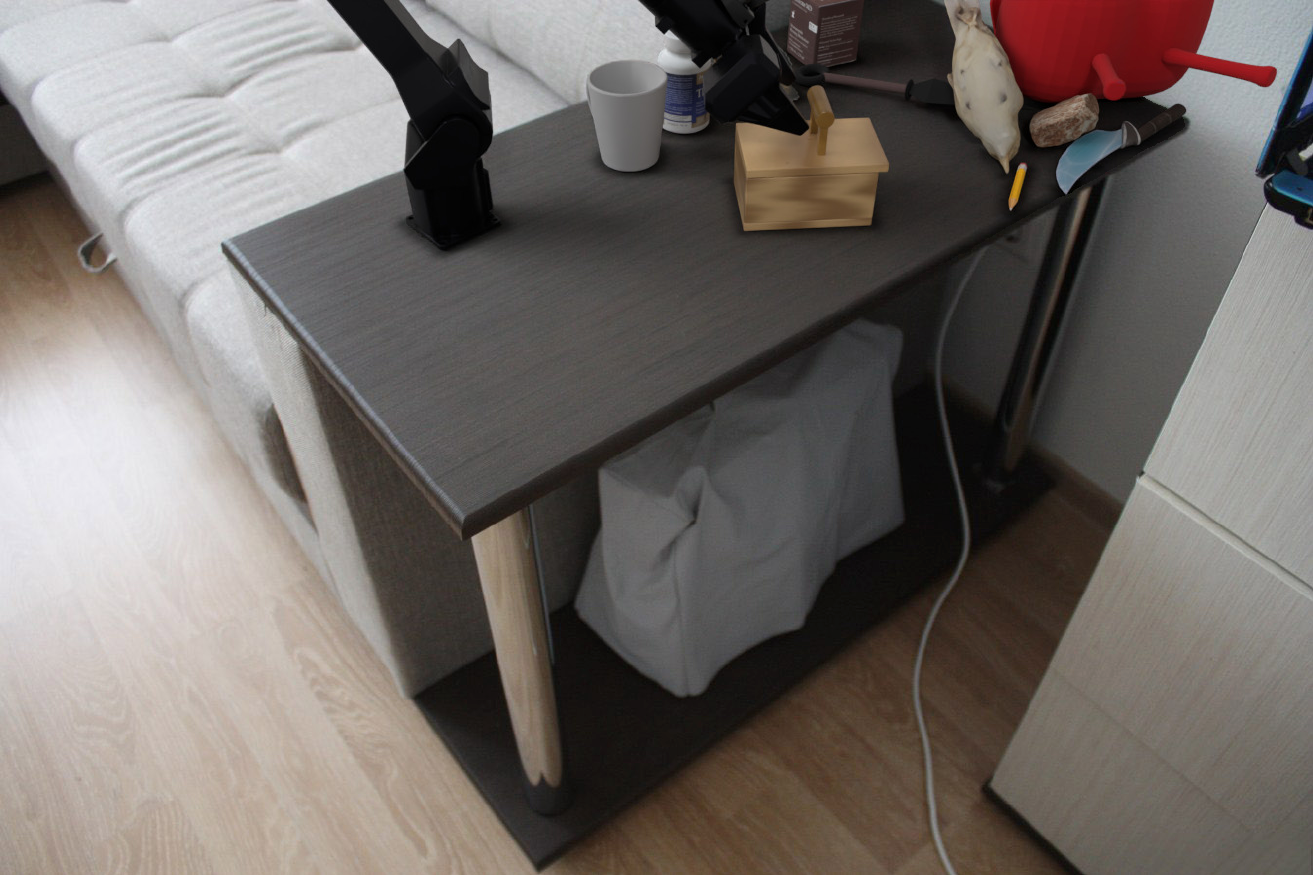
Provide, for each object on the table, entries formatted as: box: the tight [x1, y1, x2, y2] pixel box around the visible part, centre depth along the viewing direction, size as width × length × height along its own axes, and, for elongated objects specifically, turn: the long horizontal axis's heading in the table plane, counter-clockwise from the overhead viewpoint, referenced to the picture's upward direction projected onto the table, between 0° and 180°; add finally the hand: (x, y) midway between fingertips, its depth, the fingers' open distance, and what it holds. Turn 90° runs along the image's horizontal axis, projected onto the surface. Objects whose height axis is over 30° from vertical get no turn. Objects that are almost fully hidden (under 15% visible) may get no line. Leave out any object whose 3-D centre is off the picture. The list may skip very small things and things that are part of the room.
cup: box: [585, 59, 667, 173], centre depth 100 cm, size 8×10×8 cm
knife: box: [1055, 103, 1187, 195], centre depth 102 cm, size 22×2×5 cm
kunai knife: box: [794, 64, 1043, 111], centre depth 108 cm, size 4×27×3 cm, turn 57°
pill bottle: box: [657, 30, 712, 135], centre depth 104 cm, size 5×5×10 cm
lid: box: [735, 85, 890, 178], centre depth 90 cm, size 12×9×5 cm
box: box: [786, 0, 865, 68], centre depth 116 cm, size 6×6×7 cm
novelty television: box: [989, 0, 1278, 105], centre depth 105 cm, size 21×13×30 cm
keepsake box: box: [733, 133, 880, 232], centre depth 94 cm, size 12×9×5 cm
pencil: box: [1008, 162, 1028, 212], centre depth 97 cm, size 1×9×1 cm
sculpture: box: [943, 0, 1024, 175], centre depth 102 cm, size 6×25×5 cm
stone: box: [1029, 93, 1100, 148], centre depth 102 cm, size 7×6×5 cm
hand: (798, 105), depth 89 cm, fingers open, 9 cm apart
